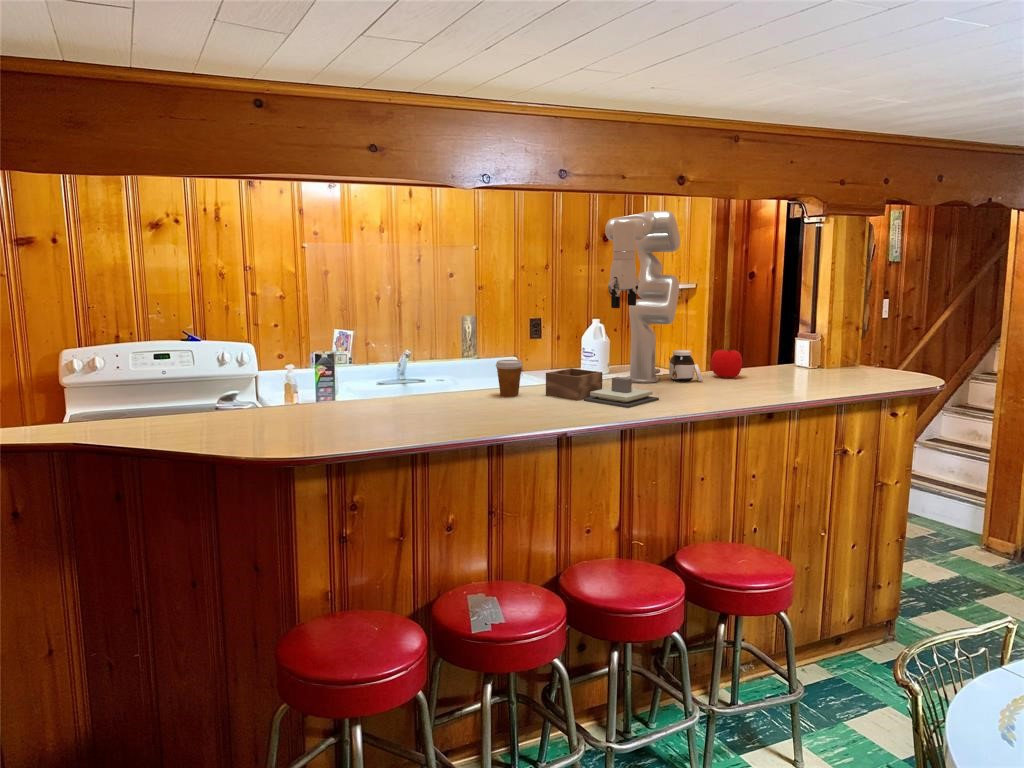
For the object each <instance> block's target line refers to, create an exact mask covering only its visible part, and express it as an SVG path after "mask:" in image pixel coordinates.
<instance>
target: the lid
mask: <svg viewBox="0 0 1024 768" xmlns="http://www.w3.org/2000/svg"><path fill="white" fill-rule="evenodd" d="M632 383H633V382H632V379H630V378H626V377H621V376H620V377H619V376H615V377H611V386H610V387H607V388H602V389H601V390H596V391H592V392H590V396H597V397H598V398H600V399H606V400H613V401H619V402H629V401H633V400H637V399H641V398H644V397H646V396H653V395H654V391H653V390H647V389H639V388H634V387H633V386H632ZM632 387H633V388H632Z"/></svg>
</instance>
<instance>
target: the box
mask: <svg viewBox="0 0 1024 768" xmlns="http://www.w3.org/2000/svg"><path fill="white" fill-rule="evenodd" d="M601 389H603V371H595V370H589V369H588V370H587V369H581V368H580V369H579V368H572V367H570V368H565V369H559V370H554V371H549V372H545V396H547V397H552V398H558V399H559V398H561V399H566V400H571V401H581V400H584V398H588V397H592V396H590V392H592V391H596V390H601Z"/></svg>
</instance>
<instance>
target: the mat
mask: <svg viewBox="0 0 1024 768" xmlns="http://www.w3.org/2000/svg"><path fill="white" fill-rule="evenodd" d="M659 400H660V397H657V396H653V395H650V396H646V397H644V398H641V399H637V400H633V401H629V402H619V401H613V400H606V399H600V398H598V397H597V396H592V397H588V398H584V399H583V402H587V403H593V404H594V403H596V404H601V405H608V406H613V407H621V408H626V409H629V408H634V407H637V406H641V405H645V404H648V403H652V402H656V401H659Z"/></svg>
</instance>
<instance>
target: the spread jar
mask: <svg viewBox="0 0 1024 768" xmlns="http://www.w3.org/2000/svg"><path fill="white" fill-rule="evenodd" d="M691 355H692V350H688V349H676V350H674V349H673V351H672V356H671V357H670V359H669V364H668V376H669V378H670V380H671V381H672V382H674V381H675V383H689V382H692V381H693V379H694V377H695V374H696V378H697V380H698V382H703V375H702V373H701V369H700V367H699V364H698V363H696V364H695V360H694V359H693V357H692V356H691Z"/></svg>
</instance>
